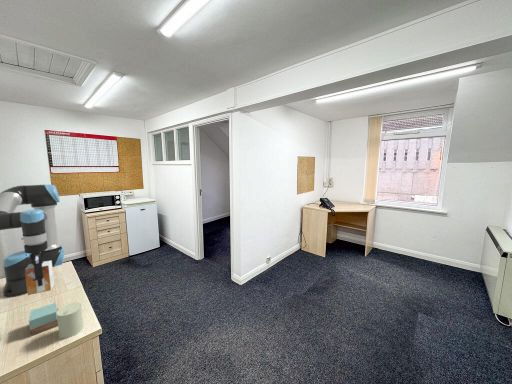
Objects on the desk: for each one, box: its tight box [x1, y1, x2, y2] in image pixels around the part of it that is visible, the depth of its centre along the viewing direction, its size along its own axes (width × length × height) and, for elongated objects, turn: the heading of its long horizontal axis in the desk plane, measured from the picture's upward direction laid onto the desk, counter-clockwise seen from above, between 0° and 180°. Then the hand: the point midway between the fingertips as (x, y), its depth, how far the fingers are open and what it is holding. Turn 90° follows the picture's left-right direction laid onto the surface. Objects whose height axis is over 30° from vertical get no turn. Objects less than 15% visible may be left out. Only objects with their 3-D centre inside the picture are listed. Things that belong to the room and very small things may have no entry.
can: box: [56, 302, 85, 339], centre depth 100 cm, size 9×9×12 cm
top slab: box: [28, 302, 58, 330], centre depth 103 cm, size 9×9×4 cm
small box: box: [25, 260, 55, 296], centre depth 101 cm, size 8×6×13 cm
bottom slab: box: [29, 308, 60, 337], centre depth 104 cm, size 10×10×4 cm
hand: (41, 287), depth 102 cm, fingers closed on small box, 7 cm apart
